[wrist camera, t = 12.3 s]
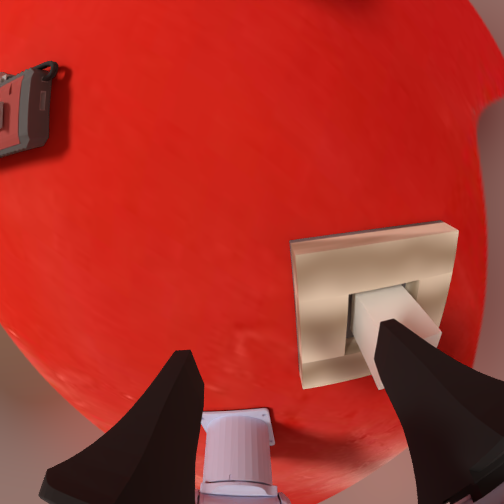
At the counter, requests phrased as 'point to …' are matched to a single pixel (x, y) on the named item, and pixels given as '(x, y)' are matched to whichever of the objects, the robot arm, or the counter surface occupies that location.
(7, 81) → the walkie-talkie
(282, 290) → the counter surface
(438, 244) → the holder block
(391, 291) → the white rectangular block
